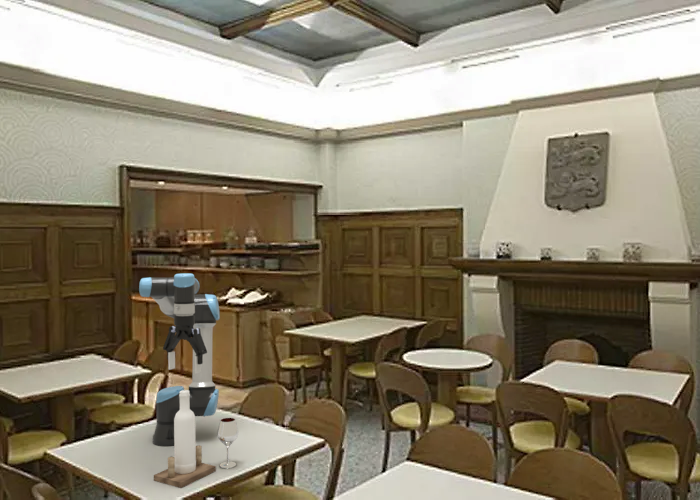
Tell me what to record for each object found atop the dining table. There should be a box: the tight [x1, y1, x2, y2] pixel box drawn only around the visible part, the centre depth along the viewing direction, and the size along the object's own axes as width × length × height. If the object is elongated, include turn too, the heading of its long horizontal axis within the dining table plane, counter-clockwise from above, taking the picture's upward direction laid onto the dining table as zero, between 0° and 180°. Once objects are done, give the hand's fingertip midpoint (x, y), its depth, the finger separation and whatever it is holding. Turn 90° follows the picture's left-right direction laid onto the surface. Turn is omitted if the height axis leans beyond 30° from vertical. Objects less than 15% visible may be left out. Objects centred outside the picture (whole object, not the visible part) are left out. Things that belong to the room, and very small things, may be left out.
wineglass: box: [216, 417, 239, 469], centre depth 235 cm, size 8×8×18 cm
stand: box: [153, 444, 217, 489], centre depth 224 cm, size 14×18×9 cm
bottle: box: [173, 389, 197, 474], centre depth 224 cm, size 8×8×30 cm
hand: (184, 370), depth 224 cm, fingers open, 13 cm apart
